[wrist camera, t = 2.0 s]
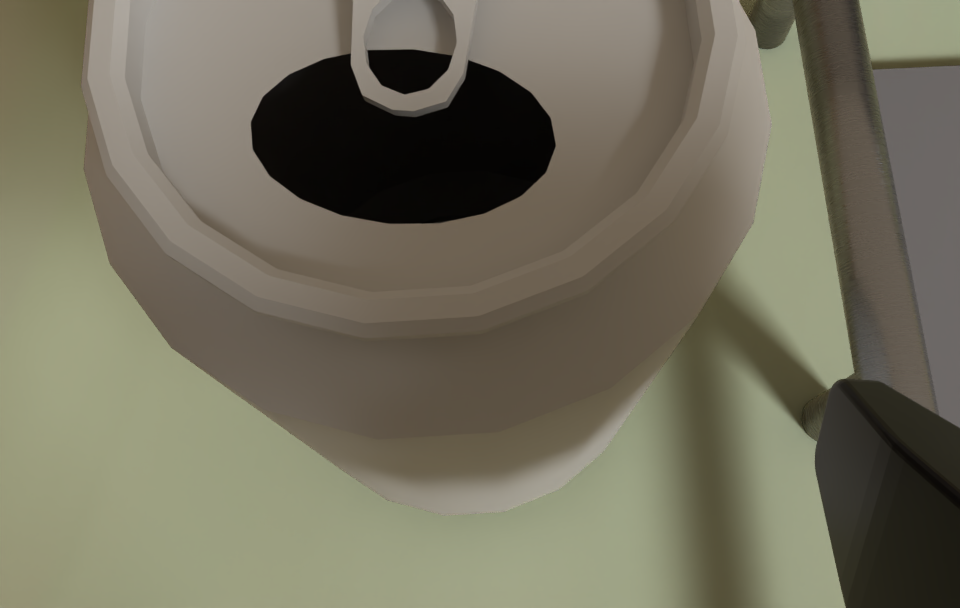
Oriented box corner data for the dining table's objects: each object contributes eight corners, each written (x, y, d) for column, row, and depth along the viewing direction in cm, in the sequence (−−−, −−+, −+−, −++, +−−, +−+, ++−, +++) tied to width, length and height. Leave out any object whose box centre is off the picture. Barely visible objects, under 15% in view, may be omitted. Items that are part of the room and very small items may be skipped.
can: (268, 500, 19) (-107, 361, 7) (323, 174, 21) (101, -323, 10) (629, 537, 18) (831, 450, 7) (646, 201, 21) (821, -289, 9)
